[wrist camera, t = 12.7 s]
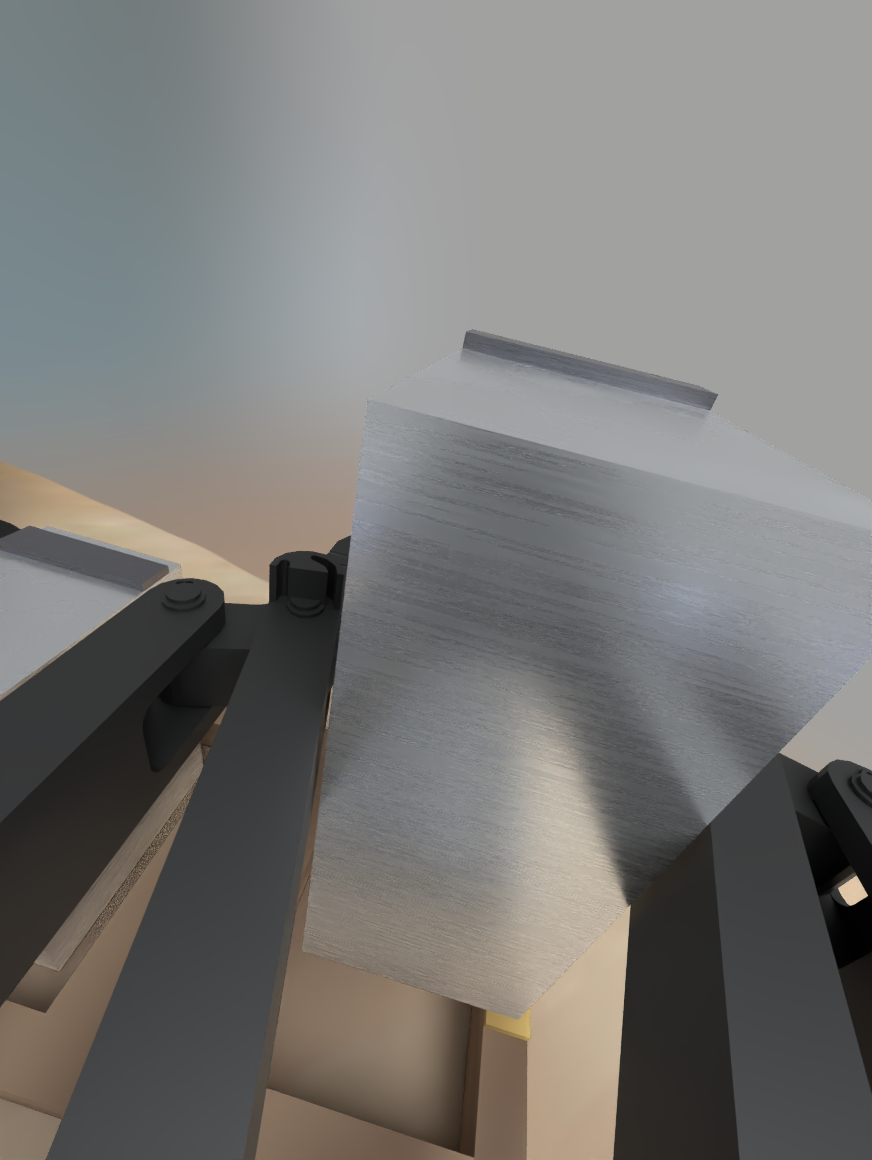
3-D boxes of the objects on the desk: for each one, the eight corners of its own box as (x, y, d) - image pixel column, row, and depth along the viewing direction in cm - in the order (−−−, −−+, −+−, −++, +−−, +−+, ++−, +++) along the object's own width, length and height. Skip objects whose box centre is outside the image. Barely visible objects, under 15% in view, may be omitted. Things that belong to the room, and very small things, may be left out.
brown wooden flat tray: (-265, 1005, 13) (-318, 978, 12) (101, 685, 25) (93, 655, 24) (502, 1272, 12) (529, 1271, 11) (516, 811, 24) (530, 786, 23)
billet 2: (302, 951, 10) (371, 360, 4) (393, 695, 17) (475, 328, 10) (517, 1020, 10) (1003, 521, 3) (523, 733, 17) (690, 382, 10)
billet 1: (-75, 927, 16) (-316, 674, 9) (108, 740, 22) (45, 518, 16) (59, 971, 15) (-89, 746, 9) (203, 770, 22) (180, 557, 16)
